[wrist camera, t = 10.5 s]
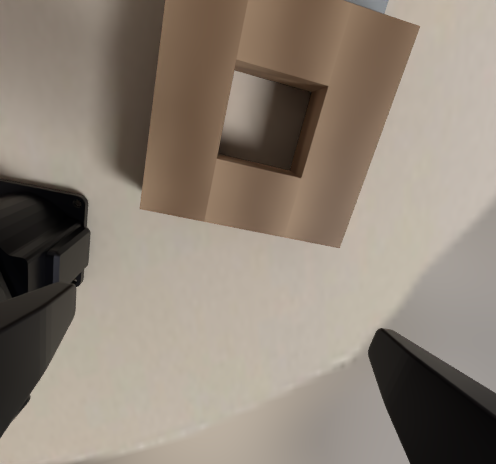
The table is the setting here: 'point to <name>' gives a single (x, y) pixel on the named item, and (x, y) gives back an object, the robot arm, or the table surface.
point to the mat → (371, 4)
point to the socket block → (282, 71)
